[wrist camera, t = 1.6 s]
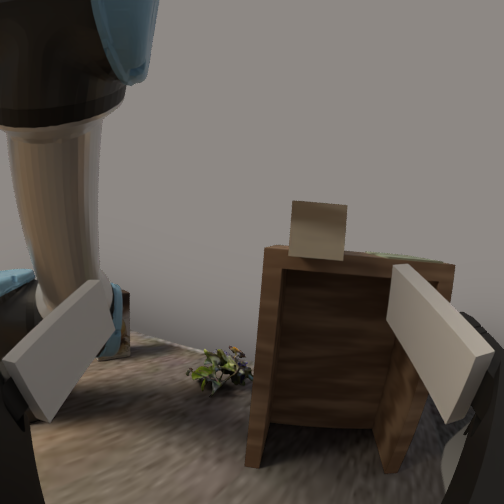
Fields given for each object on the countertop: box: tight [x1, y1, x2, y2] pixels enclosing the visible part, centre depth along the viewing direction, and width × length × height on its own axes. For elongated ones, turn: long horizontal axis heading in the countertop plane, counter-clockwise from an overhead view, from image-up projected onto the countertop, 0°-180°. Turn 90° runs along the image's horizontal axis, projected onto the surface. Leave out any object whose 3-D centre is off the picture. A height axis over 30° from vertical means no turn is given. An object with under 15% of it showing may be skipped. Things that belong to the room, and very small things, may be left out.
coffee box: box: [96, 289, 131, 361], centre depth 65 cm, size 9×6×16 cm
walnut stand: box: [245, 245, 455, 474], centre depth 38 cm, size 14×22×30 cm, turn 80°
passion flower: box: [186, 346, 253, 397], centre depth 57 cm, size 11×11×12 cm
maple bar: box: [288, 201, 347, 261], centre depth 33 cm, size 24×4×4 cm, turn 170°
